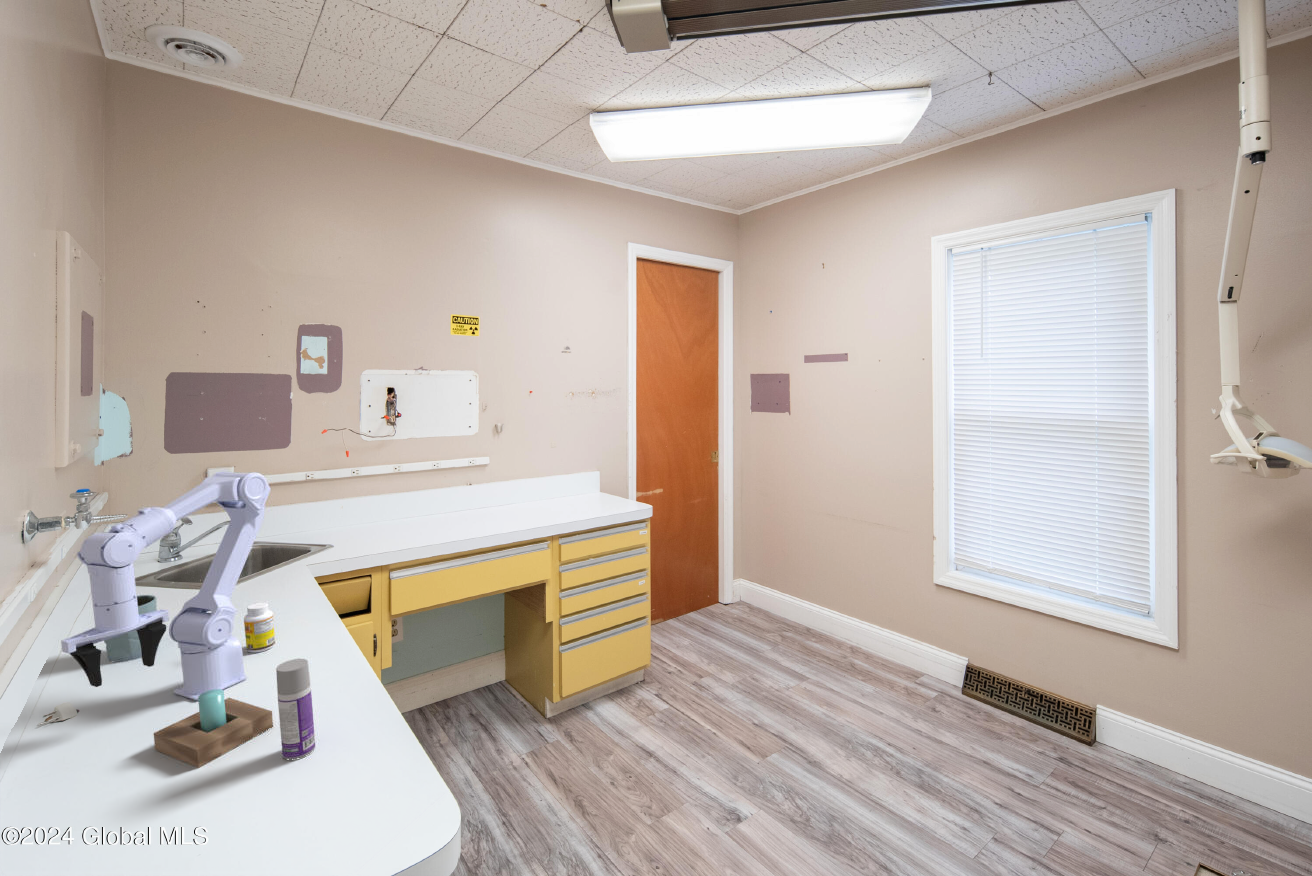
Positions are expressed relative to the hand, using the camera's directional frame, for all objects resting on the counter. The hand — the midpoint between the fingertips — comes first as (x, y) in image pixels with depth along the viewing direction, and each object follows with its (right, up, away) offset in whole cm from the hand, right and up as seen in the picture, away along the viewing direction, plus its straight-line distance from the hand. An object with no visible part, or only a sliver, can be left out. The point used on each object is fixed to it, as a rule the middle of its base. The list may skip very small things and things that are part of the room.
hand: (123, 674), depth 106 cm
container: (+35, -10, -7) cm, 37 cm away
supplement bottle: (+3, -7, +32) cm, 33 cm away
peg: (+18, -10, -3) cm, 21 cm away
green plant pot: (-25, -8, +31) cm, 40 cm away
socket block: (+18, -10, -3) cm, 21 cm away
